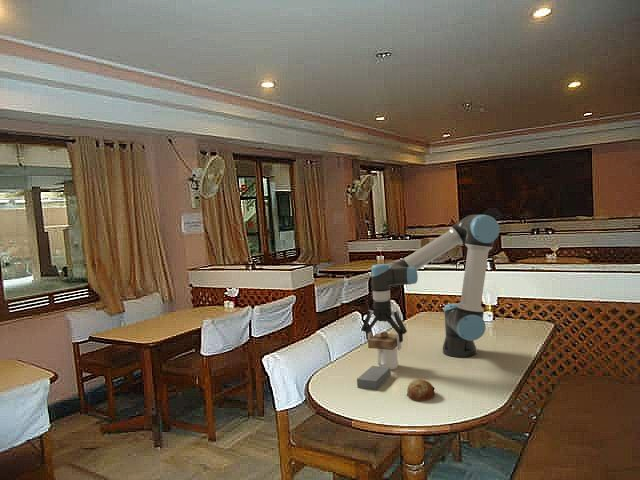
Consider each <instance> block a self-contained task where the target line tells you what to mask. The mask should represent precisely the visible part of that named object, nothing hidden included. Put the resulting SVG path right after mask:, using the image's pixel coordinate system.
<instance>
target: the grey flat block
mask: <svg viewBox="0 0 640 480" xmlns="http://www.w3.org/2000/svg"><path fill="white" fill-rule="evenodd" d="M391 373H392V372H391V370H390V368H389V367H379V365H372V366H370V367H369V368H368V369H367V370H365V371H364V372H363V373H362V374H361V375H360V376H358V377H357V378H356V385H357V388H358V389H366V390H373V391H377V390H378V389H379V388H380V387H381V386H382V385H383V384H384V383H385V382H386V381H387V380H388V379H389V378H390V377H391V376H392V375H391Z"/></svg>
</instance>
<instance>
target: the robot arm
mask: <svg viewBox="0 0 640 480" xmlns="http://www.w3.org/2000/svg"><path fill="white" fill-rule="evenodd" d="M499 235H500V224H499V223H498V221H497V220H496V219H495V218H494V217H493V216H490V215H487V214H470V215H467V216H465V217H463V218H462V219H460V220H459V221H458V222H456V223H455V224H453V225H452V226H450V227H449V230H448V231H447V232H444V233H443V234H442V235H440V236H438V237H437V238H435V239H433V240H431V242H428V243H427V244H425V245H424V246H422V247H420V248H419V249H417V250H415V251H414V252H413V253H411V254H409V255H408V256H405V257H404V258H403V259H401V260H399V261H398V262H394V263H392V264H390V265H389V264H388V263H377V264H376V263H375V264H373V265H371V286H372V287H371V288H372V289H371V290H372V300H373V302H372V304H373V310H372V309H368V310H367V311H366V316H365V319H364V322H363V325H362V327H361V331H362V332H364V333H365V339H366V340H367V341H368V340H369V339H370V338H371V337H373V335H372V334H373V333H372V331H371V330H372V329H373V327H374V326H376V323H377V322H383V323H384V322H387V323H388V324H389V325H390V326H391V327H392V329H394V331H395V332H396V333H397V334H396V335H397V351H400V350H401V349H402V343H403V341H404V337H403V335H405V334H406V333H407V332H408V330H407V329H406V327H405V325H404V324H405V323H403V321H402V319H401V317H400V313H399V311H398V310H396V311H392V302H391V287H392V286H402V285H406V286H407V285H415V284H416V283H417V282H418V277H419V276H418V270H419V269H421V268H422V267H424V266H426V265H427V264H429V263H430V262H432V261H434V260H435V259H437V258H439V257H440V256H442V255H444V254H445V253H447V252H448V251H450V250H451V249H454V248H455V247H457V246H458V245H459V246H463V245H465V247H466V248H467V251H466V253H467V254H466V260H465V261H466V262H465V267H464V274H463V275H464V276H463V280H462V281H463V283H462V288H461V289H462V290H461V296H460V297H461V298H460V302H457V303H456V302H455V303H448V304H445V305H444V310H443V313H444V327H445V328H444V329H445V338H444V342H443V343H442V353H443V354H444V355H445V356H448V357H454V358H467V357H473V356H475V355H476V354H477V345H476V343H475V342H474V341H477V340H479V339H480V338H481V337H482V336H484V334H485V332H486V328H487V326H486V322H485V320H484V315H485V313H484V312H485V310H484V308H483V307H482V301H483V294H484V286H485V285H484V284H485V280H486V273H487V272H486V271H487V264H488V260H489V259H488V257H489V251H491V250H492V249H493V248H494V242H495V240H496V239H497V238H498V237H499ZM372 316H374V319H372V321H371V323H370V319H371V318H372ZM392 316H393V317H394V319H395V320H394V319H393V318H392ZM395 321H396V322H395ZM369 323H370V324H369Z"/></svg>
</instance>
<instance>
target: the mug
mask: <svg viewBox="0 0 640 480" xmlns="http://www.w3.org/2000/svg"><path fill="white" fill-rule="evenodd" d="M376 361H377V366H379V367H389V368H390V371H391V370H395V369H397V368H398V367H399V363H398V362H399V360H398V348H397V347H395V348H394V349H393V350H386V349H377V358H376Z"/></svg>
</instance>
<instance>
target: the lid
mask: <svg viewBox="0 0 640 480" xmlns="http://www.w3.org/2000/svg"><path fill="white" fill-rule="evenodd" d="M397 335H398V334H393V333H388V331H387V332H386V331H382V332H380V333H379V332H377V333H375V334H374V335H372V337H371V338H370V339H369V340H367V348H368V349H376V350H378V349H386V350H393V349H394V348H395V347H397Z"/></svg>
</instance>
